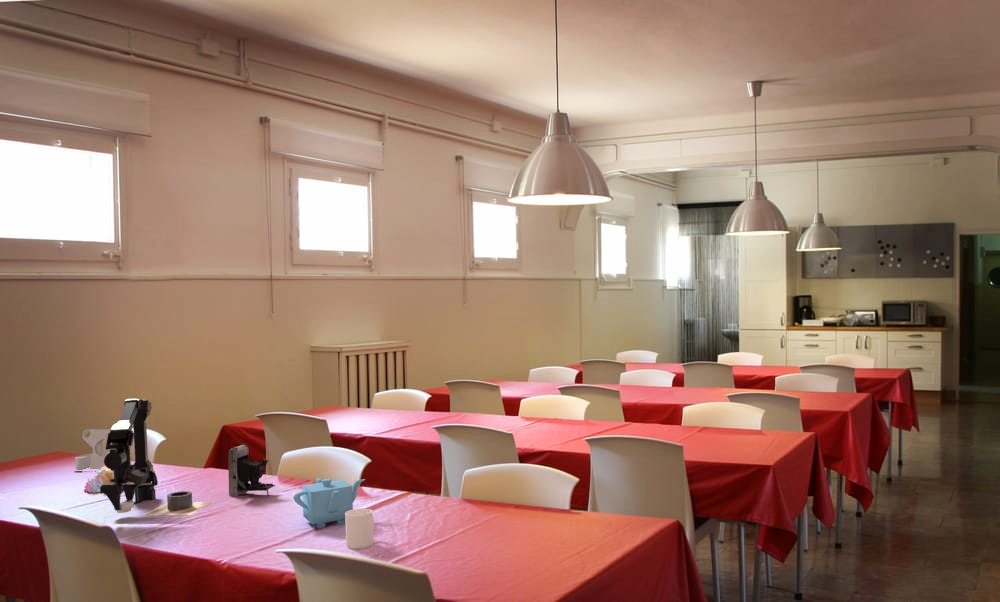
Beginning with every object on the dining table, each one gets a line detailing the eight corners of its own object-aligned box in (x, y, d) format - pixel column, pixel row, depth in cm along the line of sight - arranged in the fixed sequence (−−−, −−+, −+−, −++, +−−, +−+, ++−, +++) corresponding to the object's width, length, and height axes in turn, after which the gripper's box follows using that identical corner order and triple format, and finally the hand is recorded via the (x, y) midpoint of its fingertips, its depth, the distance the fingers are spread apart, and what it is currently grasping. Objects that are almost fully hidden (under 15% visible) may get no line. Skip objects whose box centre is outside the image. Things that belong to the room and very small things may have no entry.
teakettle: (290, 528, 279) (288, 484, 279) (318, 513, 297) (316, 472, 297) (341, 531, 274) (339, 487, 274) (367, 516, 292) (365, 474, 292)
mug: (362, 536, 267) (361, 504, 267) (385, 539, 264) (383, 506, 264) (340, 548, 256) (339, 514, 256) (363, 550, 253) (362, 516, 253)
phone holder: (72, 471, 386) (70, 432, 386) (87, 466, 396) (85, 428, 396) (106, 471, 383) (104, 432, 383) (120, 467, 393) (118, 428, 393)
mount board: (142, 518, 299) (142, 515, 299) (167, 505, 317) (167, 502, 317) (190, 518, 297) (190, 515, 297) (213, 505, 315) (213, 501, 315)
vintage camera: (264, 501, 320) (264, 448, 320) (227, 498, 323) (227, 447, 323) (276, 495, 330) (276, 444, 329) (240, 493, 333) (240, 443, 332)
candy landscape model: (155, 483, 356) (154, 462, 356) (104, 496, 336) (103, 473, 336) (119, 478, 369) (119, 457, 369) (68, 490, 349) (67, 468, 349)
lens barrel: (163, 510, 304) (162, 497, 304) (174, 504, 313) (174, 491, 312) (185, 510, 303) (184, 496, 303) (196, 504, 312) (195, 491, 311)
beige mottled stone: (109, 514, 293) (109, 505, 293) (121, 508, 300) (121, 500, 300) (126, 513, 292) (126, 505, 292) (138, 508, 300) (137, 499, 300)
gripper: (128, 468, 286) (130, 514, 286) (157, 457, 304) (159, 500, 305) (98, 469, 287) (100, 514, 287) (128, 457, 306) (130, 500, 306)
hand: (123, 507), depth 296 cm, fingers closed on beige mottled stone, 7 cm apart
